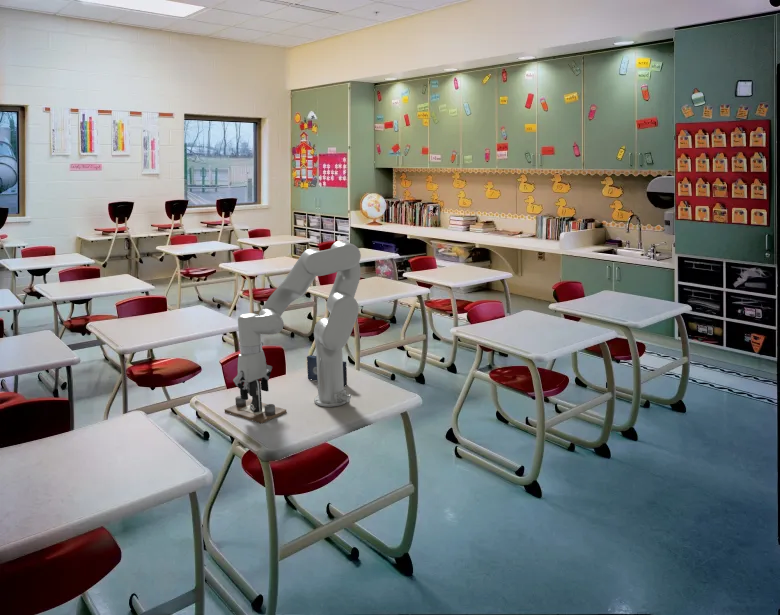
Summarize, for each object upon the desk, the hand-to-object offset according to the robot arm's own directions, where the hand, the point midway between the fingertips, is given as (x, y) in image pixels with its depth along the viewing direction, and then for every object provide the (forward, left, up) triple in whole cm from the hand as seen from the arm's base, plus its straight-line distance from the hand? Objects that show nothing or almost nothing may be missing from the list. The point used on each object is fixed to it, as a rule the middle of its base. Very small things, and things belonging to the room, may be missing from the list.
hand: (254, 394), depth 228 cm
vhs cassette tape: (-1, -38, -7) cm, 38 cm away
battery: (0, +1, -6) cm, 6 cm away
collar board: (0, 0, -7) cm, 7 cm away
